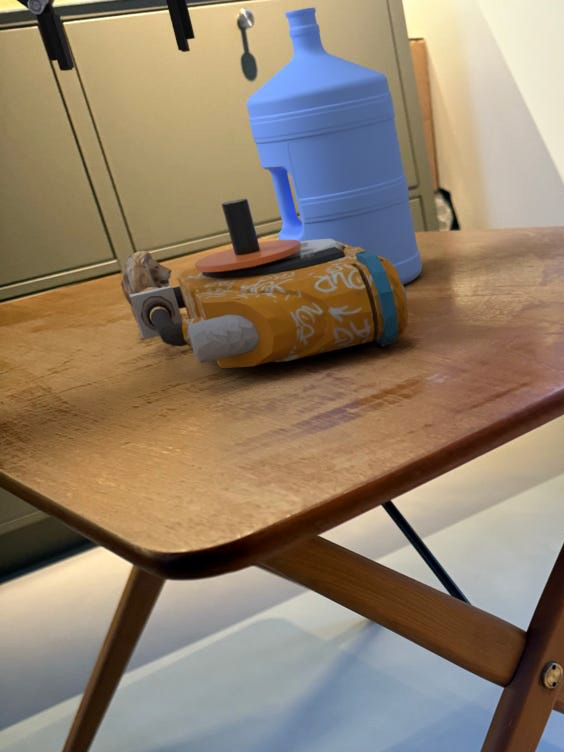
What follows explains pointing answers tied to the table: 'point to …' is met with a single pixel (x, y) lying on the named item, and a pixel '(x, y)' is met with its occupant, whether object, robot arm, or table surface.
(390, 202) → the water jug
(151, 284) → the lion figurine
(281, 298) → the device
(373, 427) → the table surface
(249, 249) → the lid
